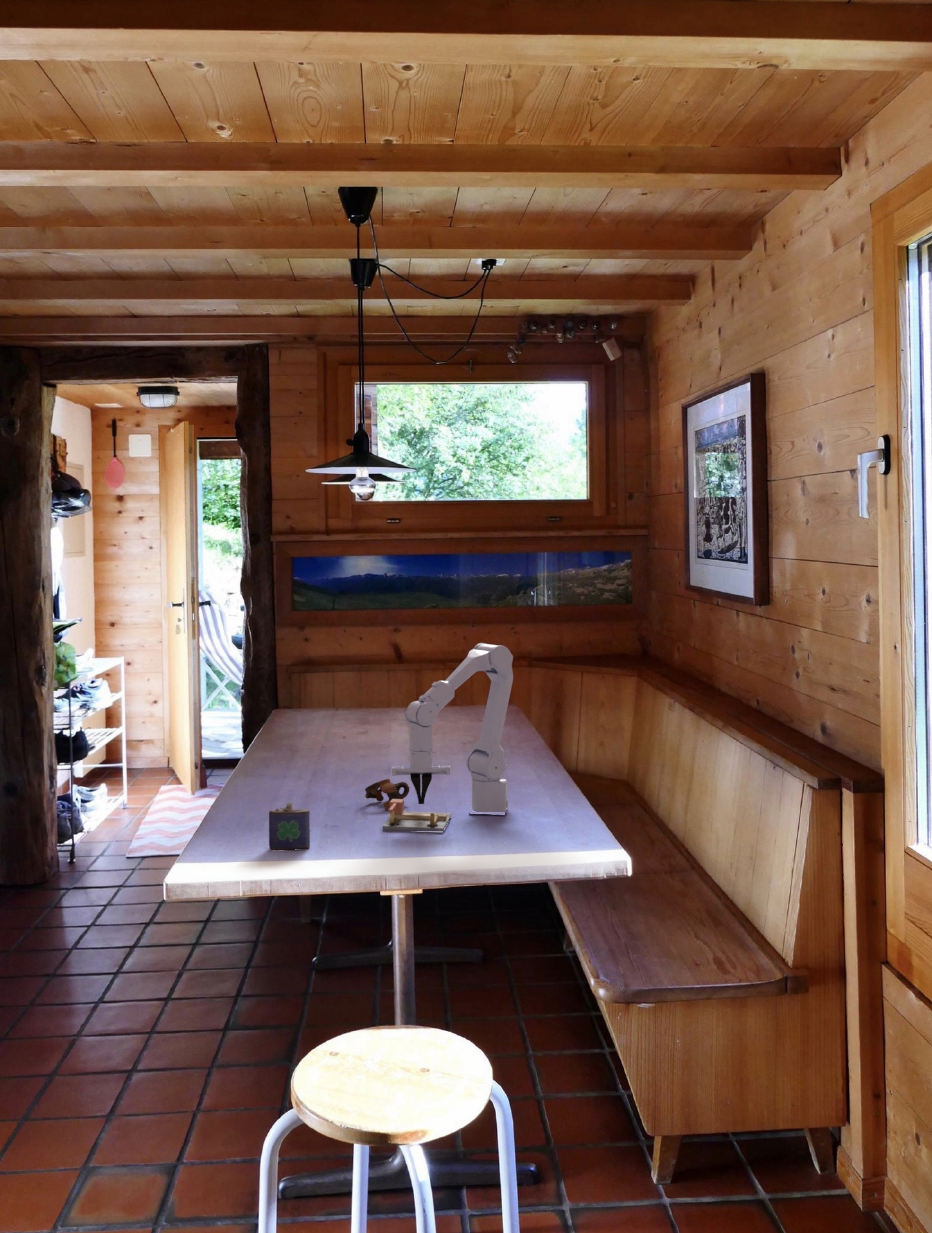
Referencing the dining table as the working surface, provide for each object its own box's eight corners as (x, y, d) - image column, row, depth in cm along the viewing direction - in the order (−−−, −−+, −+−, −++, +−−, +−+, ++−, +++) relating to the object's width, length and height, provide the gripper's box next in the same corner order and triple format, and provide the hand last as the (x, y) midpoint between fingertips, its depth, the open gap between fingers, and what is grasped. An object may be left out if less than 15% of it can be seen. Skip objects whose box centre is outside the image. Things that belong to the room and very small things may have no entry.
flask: (310, 846, 218) (309, 800, 217) (309, 850, 215) (308, 804, 215) (269, 847, 217) (269, 801, 217) (268, 851, 214) (267, 805, 214)
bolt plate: (451, 817, 243) (451, 812, 243) (443, 833, 229) (443, 827, 229) (394, 815, 245) (394, 810, 245) (382, 830, 231) (382, 825, 231)
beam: (446, 818, 238) (446, 806, 238) (442, 826, 230) (442, 814, 230) (392, 816, 240) (392, 804, 239) (385, 824, 232) (385, 812, 232)
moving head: (404, 814, 240) (403, 799, 240) (396, 824, 231) (396, 808, 230) (392, 814, 240) (392, 798, 240) (384, 824, 231) (384, 808, 231)
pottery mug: (376, 814, 248) (365, 785, 250) (370, 821, 256) (359, 793, 258) (417, 798, 252) (406, 769, 255) (410, 806, 261) (399, 778, 263)
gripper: (449, 745, 241) (449, 798, 242) (392, 746, 240) (392, 799, 241) (450, 751, 234) (450, 805, 235) (391, 752, 233) (392, 806, 234)
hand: (421, 803), depth 238 cm, fingers closed
